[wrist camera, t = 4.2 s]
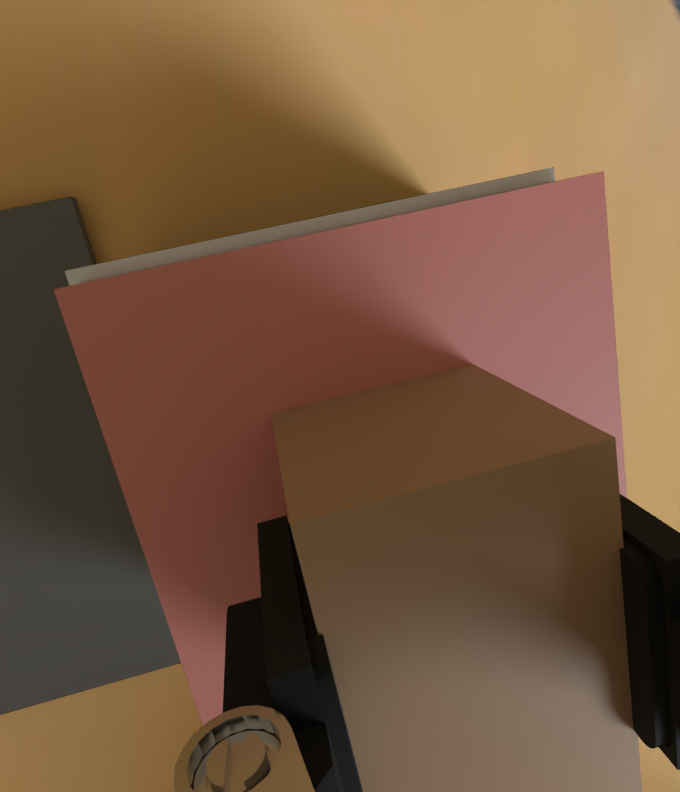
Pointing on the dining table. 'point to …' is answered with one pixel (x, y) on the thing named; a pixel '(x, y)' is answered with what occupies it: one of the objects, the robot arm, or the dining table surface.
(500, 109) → the dining table surface
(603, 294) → the lid
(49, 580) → the mat
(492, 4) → the dining table surface
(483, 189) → the tin
